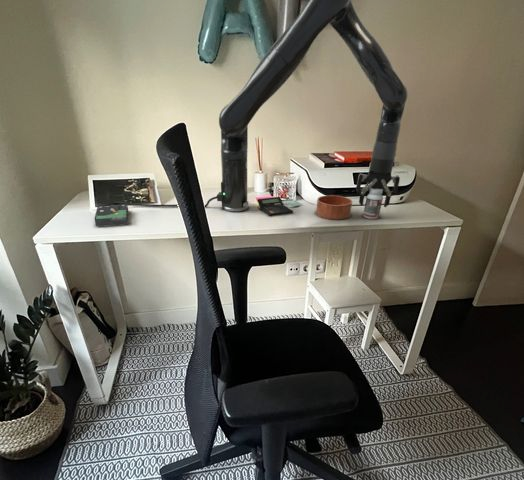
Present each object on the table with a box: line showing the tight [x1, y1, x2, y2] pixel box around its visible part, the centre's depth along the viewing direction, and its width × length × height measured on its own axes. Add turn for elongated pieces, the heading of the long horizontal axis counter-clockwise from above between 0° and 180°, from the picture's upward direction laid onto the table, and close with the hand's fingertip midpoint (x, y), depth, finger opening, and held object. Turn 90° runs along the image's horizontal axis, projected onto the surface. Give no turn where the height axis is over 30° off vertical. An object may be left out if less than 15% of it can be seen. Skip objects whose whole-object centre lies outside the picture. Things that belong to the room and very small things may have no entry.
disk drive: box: [94, 204, 130, 227], centre depth 126 cm, size 10×3×15 cm
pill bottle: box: [362, 188, 384, 220], centre depth 132 cm, size 6×6×10 cm
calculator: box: [257, 196, 294, 217], centre depth 138 cm, size 9×12×3 cm
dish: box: [315, 195, 353, 221], centre depth 135 cm, size 13×13×5 cm
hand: (373, 205), depth 133 cm, fingers open, 8 cm apart
